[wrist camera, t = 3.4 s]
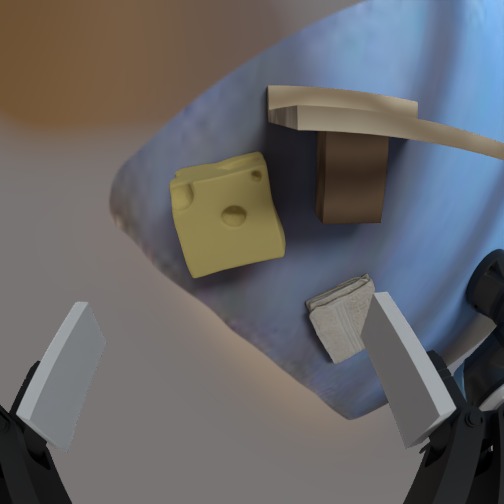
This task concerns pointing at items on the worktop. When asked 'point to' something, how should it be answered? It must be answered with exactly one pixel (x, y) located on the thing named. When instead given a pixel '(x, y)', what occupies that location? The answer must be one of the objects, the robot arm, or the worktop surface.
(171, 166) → the worktop surface
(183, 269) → the worktop surface
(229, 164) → the cheese
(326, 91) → the wall board
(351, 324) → the washcloth
